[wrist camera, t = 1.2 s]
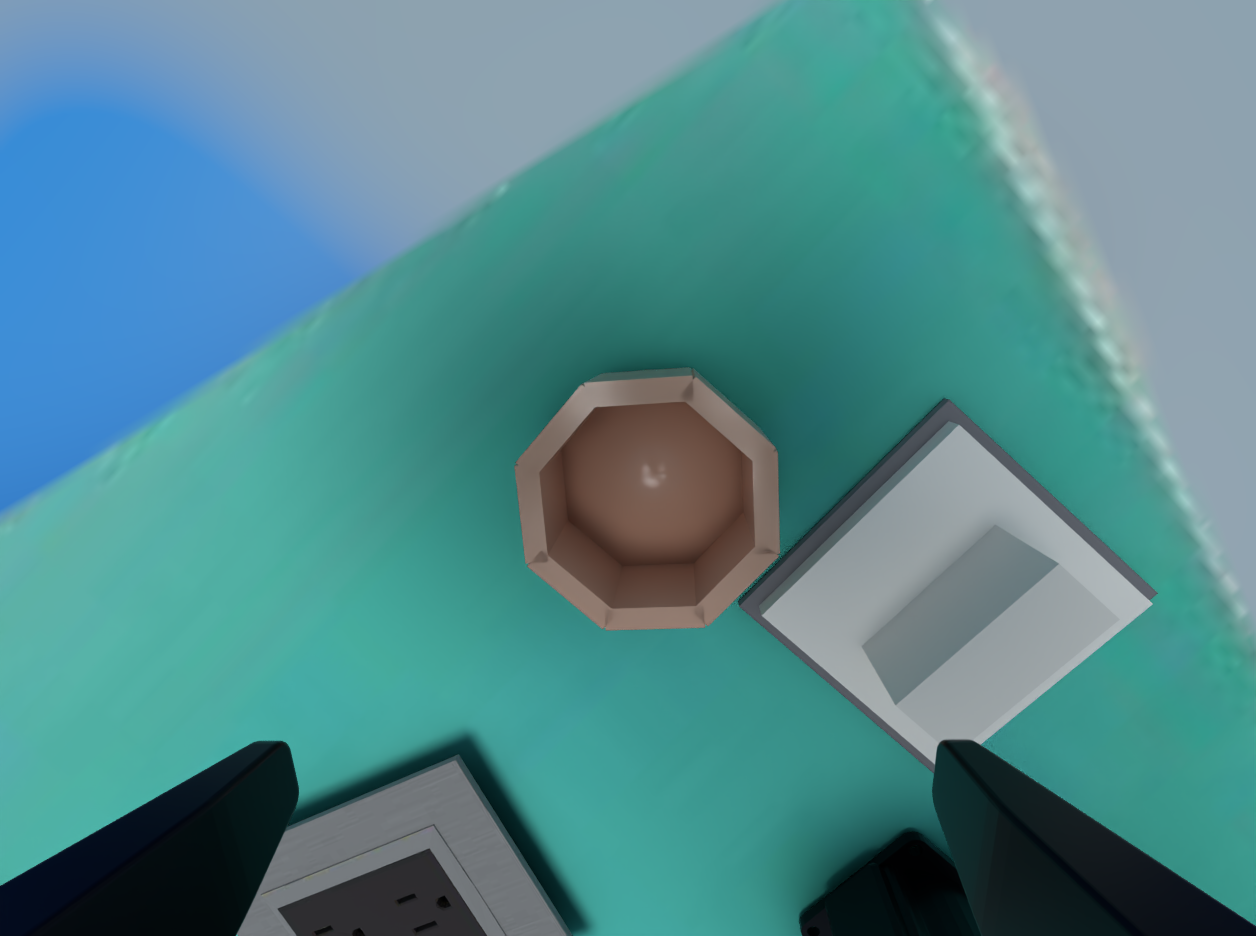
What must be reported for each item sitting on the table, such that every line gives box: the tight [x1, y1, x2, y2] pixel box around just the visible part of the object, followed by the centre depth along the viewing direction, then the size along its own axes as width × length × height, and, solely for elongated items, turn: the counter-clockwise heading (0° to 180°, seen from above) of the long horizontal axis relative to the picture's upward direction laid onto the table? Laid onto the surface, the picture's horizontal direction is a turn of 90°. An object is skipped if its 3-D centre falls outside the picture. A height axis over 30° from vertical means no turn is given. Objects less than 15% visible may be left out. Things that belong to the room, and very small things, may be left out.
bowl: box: [515, 367, 780, 630], centre depth 20 cm, size 8×8×4 cm
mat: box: [738, 399, 1158, 773], centre depth 22 cm, size 10×10×1 cm
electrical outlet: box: [237, 754, 573, 936], centre depth 26 cm, size 13×10×2 cm
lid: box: [759, 421, 1152, 764], centre depth 20 cm, size 9×9×4 cm
